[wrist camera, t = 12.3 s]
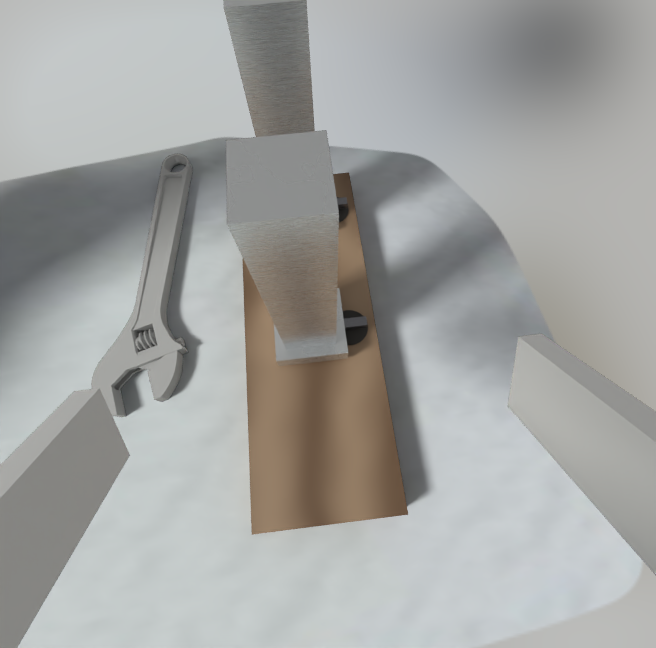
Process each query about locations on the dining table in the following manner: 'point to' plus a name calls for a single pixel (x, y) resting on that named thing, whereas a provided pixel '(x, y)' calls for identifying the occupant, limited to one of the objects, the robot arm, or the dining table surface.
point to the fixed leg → (274, 64)
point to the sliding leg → (290, 240)
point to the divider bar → (321, 413)
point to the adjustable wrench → (151, 302)
